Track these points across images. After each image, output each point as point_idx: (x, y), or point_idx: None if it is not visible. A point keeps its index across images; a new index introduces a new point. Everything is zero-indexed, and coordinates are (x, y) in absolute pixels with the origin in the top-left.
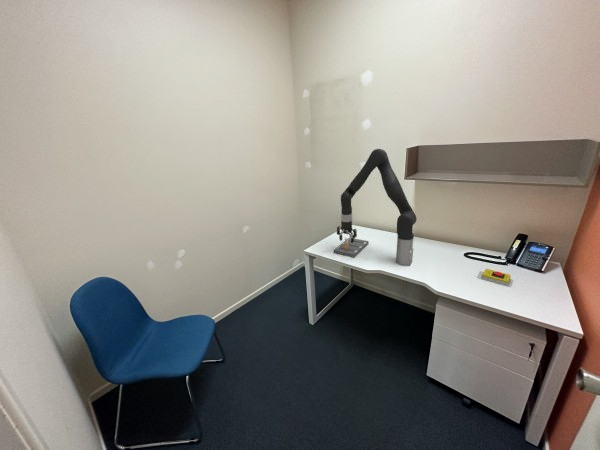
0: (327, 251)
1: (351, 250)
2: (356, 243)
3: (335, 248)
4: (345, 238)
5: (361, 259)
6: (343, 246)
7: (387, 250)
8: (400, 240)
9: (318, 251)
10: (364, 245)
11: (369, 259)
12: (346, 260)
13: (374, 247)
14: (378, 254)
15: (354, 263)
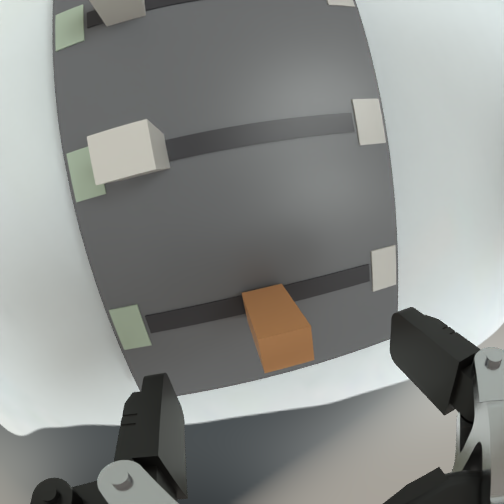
0: (80, 380)
1: (332, 286)
2: (252, 39)
3: (128, 363)
4: (102, 171)
5: (433, 297)
6: (159, 251)
7: (486, 33)
8: None
9: (40, 414)
10: (362, 38)
11: (473, 254)
12: (342, 393)
13: (404, 3)
14: (487, 129)
15: (408, 378)
